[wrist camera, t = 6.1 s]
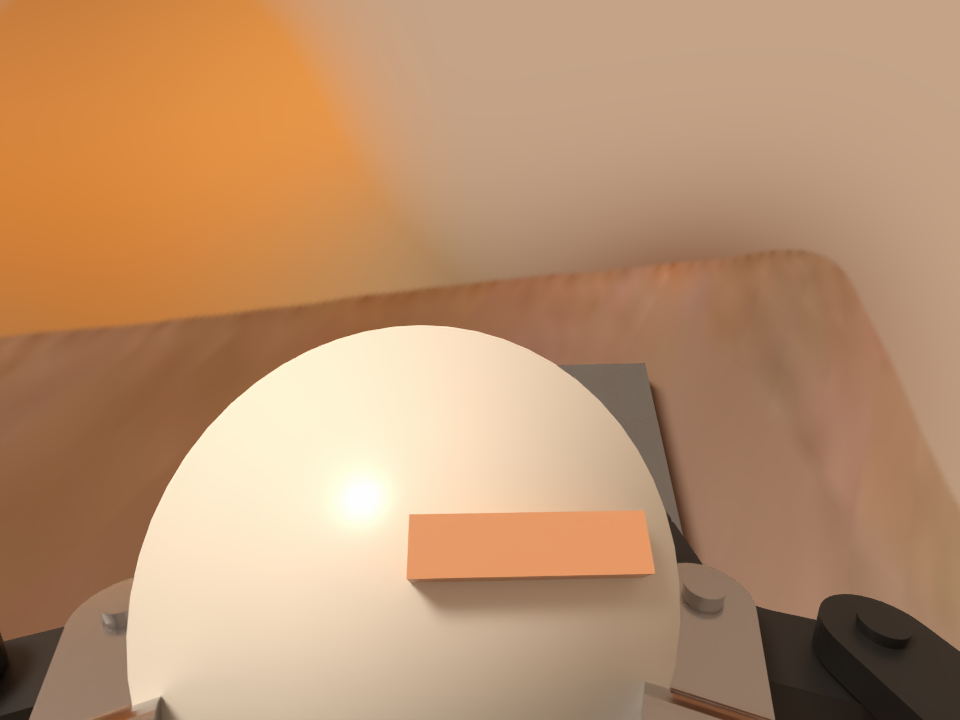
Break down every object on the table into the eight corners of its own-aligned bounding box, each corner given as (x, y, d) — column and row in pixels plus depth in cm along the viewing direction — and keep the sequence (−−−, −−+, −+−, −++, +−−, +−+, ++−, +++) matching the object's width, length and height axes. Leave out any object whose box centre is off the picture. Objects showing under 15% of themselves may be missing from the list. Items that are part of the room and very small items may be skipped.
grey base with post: (420, 671, 25) (408, 683, 20) (423, 379, 32) (415, 330, 27) (697, 656, 26) (759, 663, 20) (637, 373, 33) (671, 325, 28)
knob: (331, 727, 13) (-14, 976, 4) (353, 501, 15) (189, 309, 6) (553, 720, 13) (772, 940, 4) (536, 498, 16) (640, 307, 6)
